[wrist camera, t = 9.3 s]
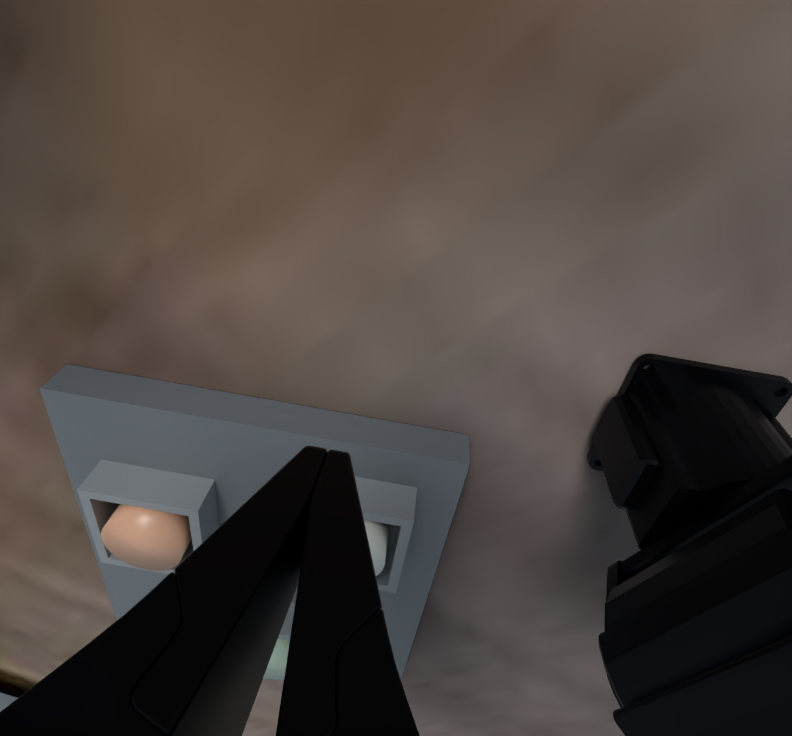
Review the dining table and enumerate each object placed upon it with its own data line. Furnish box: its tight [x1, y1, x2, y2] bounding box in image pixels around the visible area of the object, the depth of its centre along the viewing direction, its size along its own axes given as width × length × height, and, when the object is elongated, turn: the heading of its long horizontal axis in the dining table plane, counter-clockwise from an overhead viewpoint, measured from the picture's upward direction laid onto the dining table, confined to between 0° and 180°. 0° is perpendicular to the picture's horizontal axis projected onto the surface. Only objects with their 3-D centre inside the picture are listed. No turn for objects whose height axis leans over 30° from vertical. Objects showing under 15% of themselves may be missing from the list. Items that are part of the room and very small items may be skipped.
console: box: [39, 364, 470, 681], centre depth 29 cm, size 20×22×4 cm
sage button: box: [263, 638, 290, 680], centre depth 31 cm, size 4×4×2 cm
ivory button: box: [364, 520, 390, 576], centre depth 25 cm, size 4×4×2 cm
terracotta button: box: [101, 504, 192, 571], centre depth 26 cm, size 4×4×2 cm
